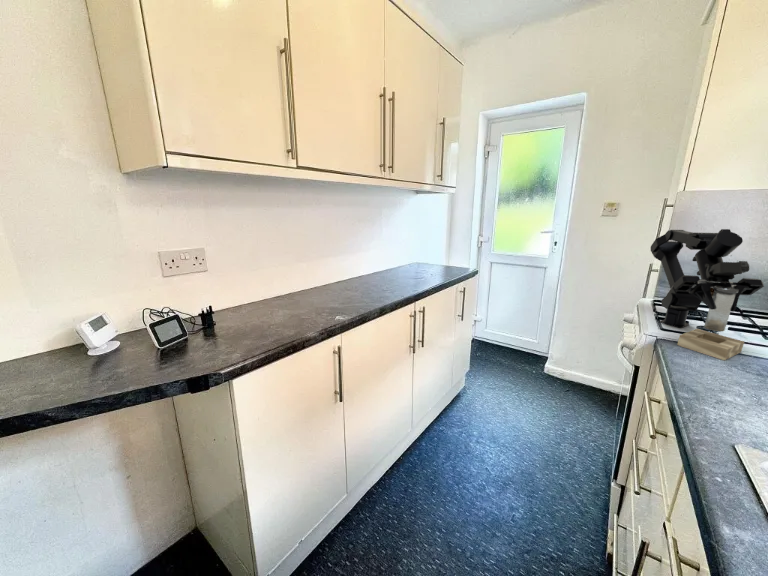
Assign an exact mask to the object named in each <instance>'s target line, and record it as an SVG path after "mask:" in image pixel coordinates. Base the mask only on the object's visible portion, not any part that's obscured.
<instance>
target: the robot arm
mask: <svg viewBox="0 0 768 576" xmlns="http://www.w3.org/2000/svg"><path fill="white" fill-rule="evenodd" d="M743 242H744V241H743V237H742V236H740V235H739V234H737V233H735V232H732V231H731V229H730V228H729V229H728V228H727V229H726V228H721V229H720V230H719V231H718V232H691V231H687V230H684V229H670V230H667V231H666V232H665V234H663V235H661V236H659V237H657V238H656V239H655V240H654V241H653V242H652V244H651V245H650V252H651V254H652V256H653V257H654V259H657V261H660V262H661V265H662V268H663V270H664V271H663V272H664V273H665V274H664V275H665V277H666V279H667V281H668V286H669V290H668V292H667V293H666V295H665V296H664V297H663V298H662V299H661V306H662V307H663V308H664V309H666V313H665V317H664V319H661V320H659V323H661V324H664V325H669V326H671V327H674V328H678V329H682V328H686V327H688V326H690V323H688V322H686V321H687V318H688V314H689V311H690V312H696V311H697V310H698V309H699V307H700V305H701V303H703V304H704V305H705V306H707V308H708V309H709V308H710V309H712V310H713V309H714V308H715V306H714V301H713V298H712V297H713V294H712V293H711V289H714V286H729V287H734V288H738V289H739V291H738V293H736V295H735V299H734V302H733V305H732V308H731V311H730V312H735V311H736V310H737V305H738V302H739V298H740V296H752V295H754V294H755V293H756V292H758V291H759V290H761V289H763V288H764V287H765V285H764V283H763V280H762V279H759V278H748V277H747V278H745V277H743V278H741V279H739V280H738V281H737V282H734V281H730V280H733V279H735V276H736V275H742V274H744V273H747V272H749V271H750V264H749V262H748V261H747V260H746V261H744V260H739V261H736V262H734V261H733V262H732V261H723V258H724V257H727V256H729V255H730V254H731V253H732V252H734V251H735V250H737V248H738V247H739V246H741V245H742V243H743ZM684 244H685V247H686V248H688V250H691V251H692V250H693V251H695V250H696V251H697V252H696V253H695V255H694V256H693V257H692V260H691V261H692V262H696V264H697V269H698V271H697V272H696V275H690V274H689V275H688V274H685V273H684V270H683V269H682V266H681V263H680V261H679V258H678V255H679V253H680V252H681V250H682V249H683V248H684Z"/></svg>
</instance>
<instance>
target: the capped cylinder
mask: <svg viewBox="0 0 768 576" xmlns="http://www.w3.org/2000/svg"><path fill="white" fill-rule="evenodd" d="M712 289H713V294H712V298H713V301H714V306H715V308H714V309H713V310H712V309H710V308H709V307H708V311H707V314H706V318H705V321H704V324H703V328H704V329H707V330H709V331H714V332H725V330H726V327H727V324H728V320H729V318H730V315H731V312H732V311H731V308H732V305H733V302H734V299H735V295H736V293H738V291H739V289H738V288H734V287H729V286H714V288H712Z"/></svg>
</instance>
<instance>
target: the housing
mask: <svg viewBox="0 0 768 576" xmlns="http://www.w3.org/2000/svg"><path fill="white" fill-rule="evenodd" d="M676 345H677V346H679V347H682V348H684V349H687V350H691V351H694V352H696V353H697V352H698V353H701V354H703V355H706V356H710V357H712V358H713V357H714V358H716V359H718V360H722V361H726V360H729V359H731V358H732V357H734V356H736V355H739V354H740V353H742V350H743V348H744V345H745V341H743V340H739V339H736V338H733V337H729V336H725V335H722V334H718V333H714V332H711V331H707V330H703V329H699V328H695V329H692V330H690V331H687V332H684V333H682V334H679V337H678V341H677V344H676Z"/></svg>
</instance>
